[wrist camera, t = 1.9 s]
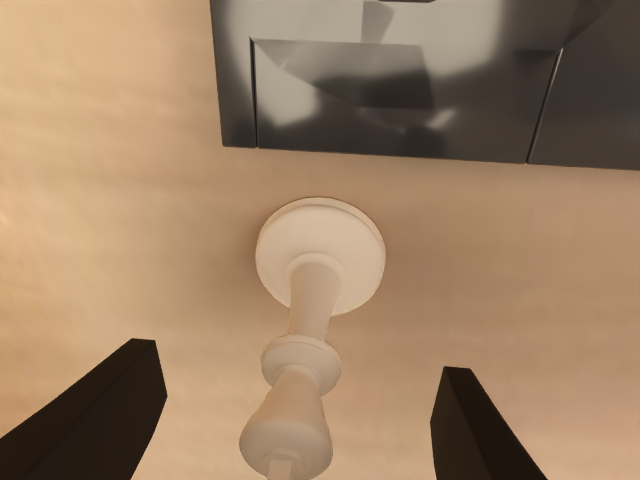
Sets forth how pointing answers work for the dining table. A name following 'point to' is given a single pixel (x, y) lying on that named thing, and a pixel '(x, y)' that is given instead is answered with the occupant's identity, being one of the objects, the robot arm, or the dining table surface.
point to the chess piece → (307, 327)
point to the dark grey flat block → (433, 79)
